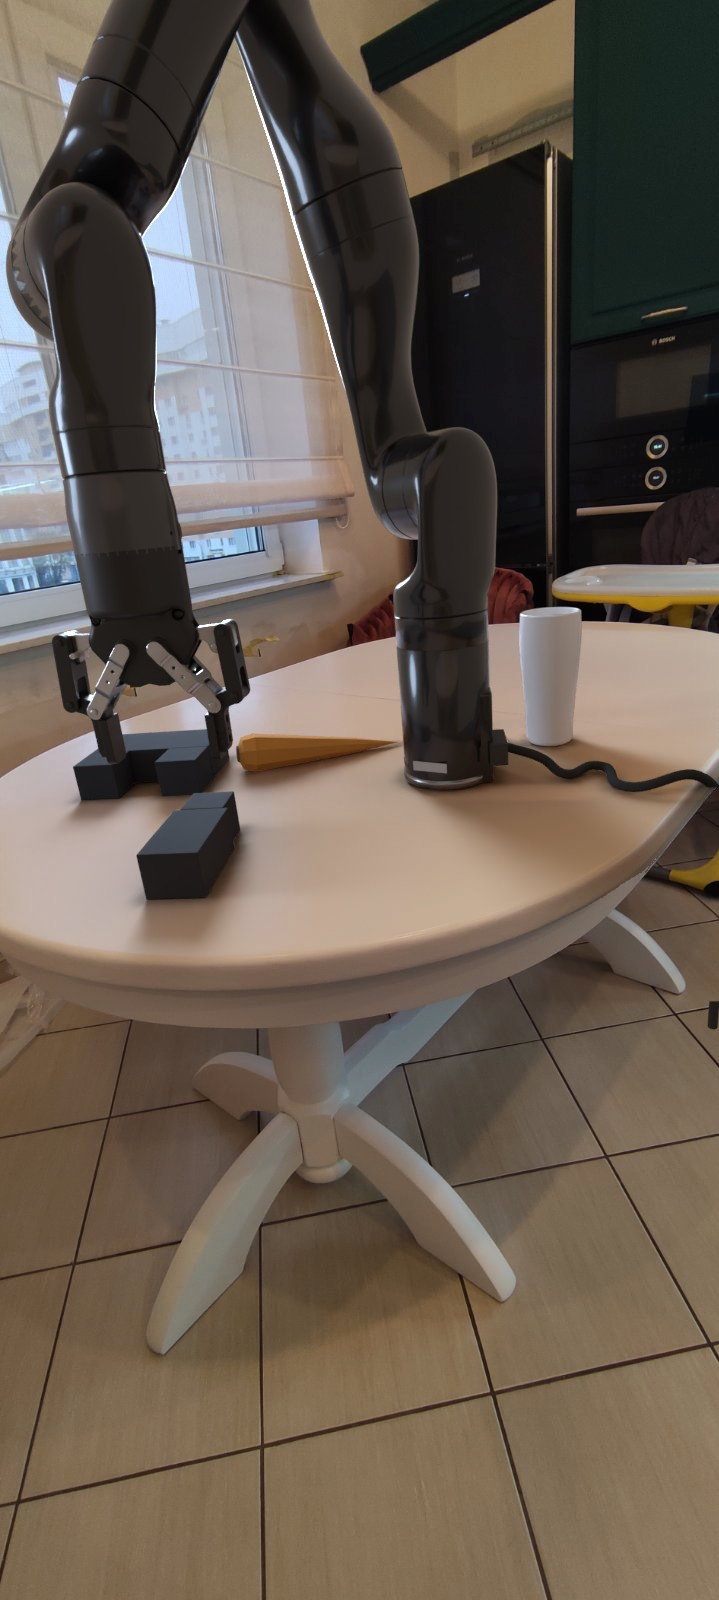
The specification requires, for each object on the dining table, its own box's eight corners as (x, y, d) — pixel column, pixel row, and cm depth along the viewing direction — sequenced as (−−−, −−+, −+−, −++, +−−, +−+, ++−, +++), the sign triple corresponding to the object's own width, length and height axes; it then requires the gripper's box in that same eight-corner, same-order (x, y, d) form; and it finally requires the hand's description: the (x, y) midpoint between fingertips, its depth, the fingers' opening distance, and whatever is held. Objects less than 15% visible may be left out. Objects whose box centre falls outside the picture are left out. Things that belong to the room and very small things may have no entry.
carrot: (239, 781, 84) (240, 750, 81) (234, 756, 87) (234, 726, 84) (402, 767, 90) (407, 738, 87) (391, 745, 93) (396, 716, 90)
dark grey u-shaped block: (229, 758, 90) (224, 727, 89) (201, 794, 79) (194, 759, 78) (123, 764, 92) (116, 734, 91) (80, 800, 81) (72, 766, 80)
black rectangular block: (245, 829, 69) (239, 790, 68) (206, 897, 57) (197, 852, 56) (195, 831, 70) (188, 793, 68) (145, 899, 58) (135, 855, 56)
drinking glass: (581, 749, 82) (584, 613, 76) (519, 750, 83) (518, 617, 78) (576, 731, 88) (579, 605, 82) (519, 732, 89) (519, 608, 84)
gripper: (7, 556, 49) (62, 779, 55) (209, 538, 48) (243, 770, 54) (60, 550, 56) (104, 748, 62) (238, 534, 55) (265, 740, 60)
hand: (168, 758), depth 58 cm, fingers open, 8 cm apart
